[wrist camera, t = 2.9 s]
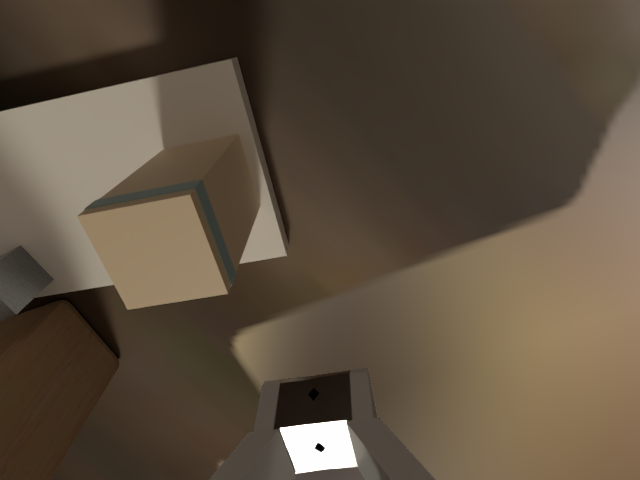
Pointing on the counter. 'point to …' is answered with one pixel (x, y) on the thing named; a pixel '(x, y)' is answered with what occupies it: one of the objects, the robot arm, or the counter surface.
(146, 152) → the white tray
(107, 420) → the counter surface
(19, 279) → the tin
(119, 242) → the carton
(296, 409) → the robot arm
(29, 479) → the wooden block
